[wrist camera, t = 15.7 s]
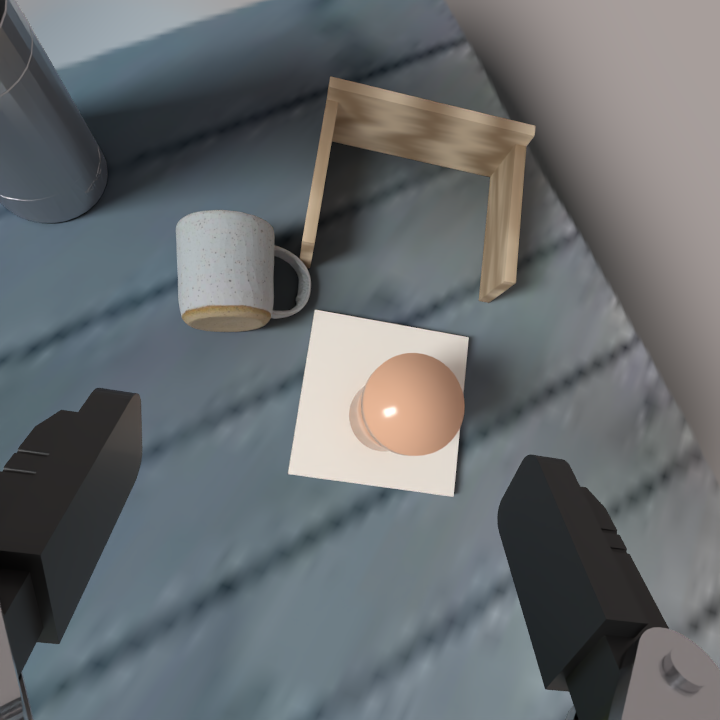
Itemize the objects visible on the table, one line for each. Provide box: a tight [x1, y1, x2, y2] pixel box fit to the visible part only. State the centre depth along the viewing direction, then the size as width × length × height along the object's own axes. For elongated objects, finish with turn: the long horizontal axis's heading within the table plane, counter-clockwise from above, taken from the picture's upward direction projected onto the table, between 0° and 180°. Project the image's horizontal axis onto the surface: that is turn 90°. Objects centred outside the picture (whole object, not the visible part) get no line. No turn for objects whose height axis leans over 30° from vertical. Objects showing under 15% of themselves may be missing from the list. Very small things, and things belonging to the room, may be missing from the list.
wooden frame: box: [300, 76, 535, 303], centre depth 45 cm, size 18×14×7 cm
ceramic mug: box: [176, 210, 311, 332], centre depth 41 cm, size 11×8×8 cm
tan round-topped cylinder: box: [349, 353, 465, 456], centre depth 38 cm, size 7×7×10 cm
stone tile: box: [288, 310, 469, 497], centre depth 44 cm, size 14×14×1 cm
